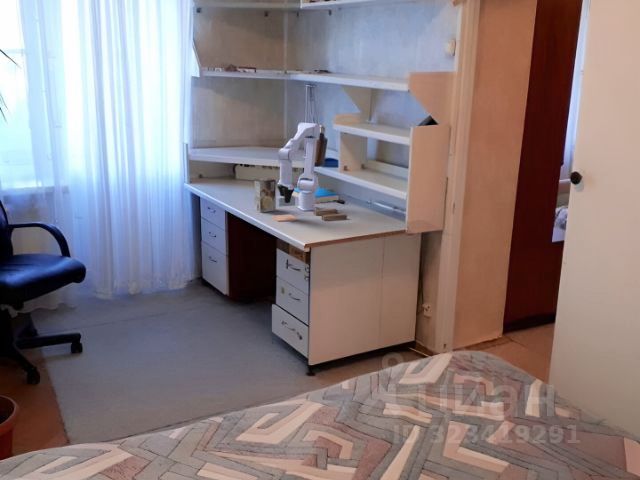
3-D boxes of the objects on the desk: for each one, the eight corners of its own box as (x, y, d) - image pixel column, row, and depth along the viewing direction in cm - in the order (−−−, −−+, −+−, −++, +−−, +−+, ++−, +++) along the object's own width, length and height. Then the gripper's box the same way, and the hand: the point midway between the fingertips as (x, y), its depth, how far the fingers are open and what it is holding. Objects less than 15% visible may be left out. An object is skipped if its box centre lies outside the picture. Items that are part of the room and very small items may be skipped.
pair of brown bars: (313, 214, 334) (313, 210, 333) (335, 212, 338) (335, 208, 338) (324, 220, 321) (324, 216, 321) (346, 219, 326) (346, 215, 325)
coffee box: (269, 208, 344) (270, 177, 339) (275, 210, 338) (276, 179, 334) (253, 210, 339) (253, 178, 334) (259, 212, 334) (260, 181, 329)
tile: (271, 216, 326) (271, 215, 326) (290, 215, 329) (290, 214, 329) (278, 221, 317) (278, 220, 317) (297, 220, 320) (297, 219, 320)
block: (275, 204, 322) (275, 196, 321) (291, 203, 325) (291, 195, 324) (279, 206, 318) (279, 198, 316) (295, 205, 320) (295, 197, 319)
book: (313, 197, 356) (289, 188, 376) (313, 205, 357) (289, 195, 377) (340, 194, 365) (315, 185, 385) (339, 201, 367) (315, 192, 386)
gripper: (273, 171, 322) (272, 198, 326) (282, 176, 309) (282, 205, 313) (286, 170, 325) (286, 198, 328) (297, 176, 312) (296, 204, 316)
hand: (285, 201), depth 321 cm, fingers closed on block, 5 cm apart
